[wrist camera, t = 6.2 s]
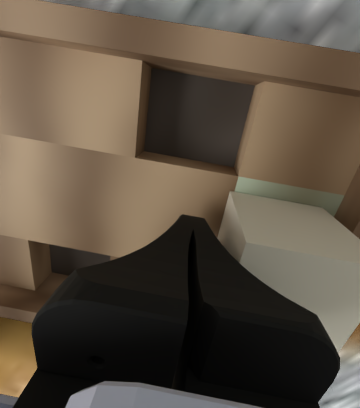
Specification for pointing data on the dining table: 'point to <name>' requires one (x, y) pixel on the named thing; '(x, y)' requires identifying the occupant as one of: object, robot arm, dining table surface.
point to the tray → (155, 135)
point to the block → (298, 256)
